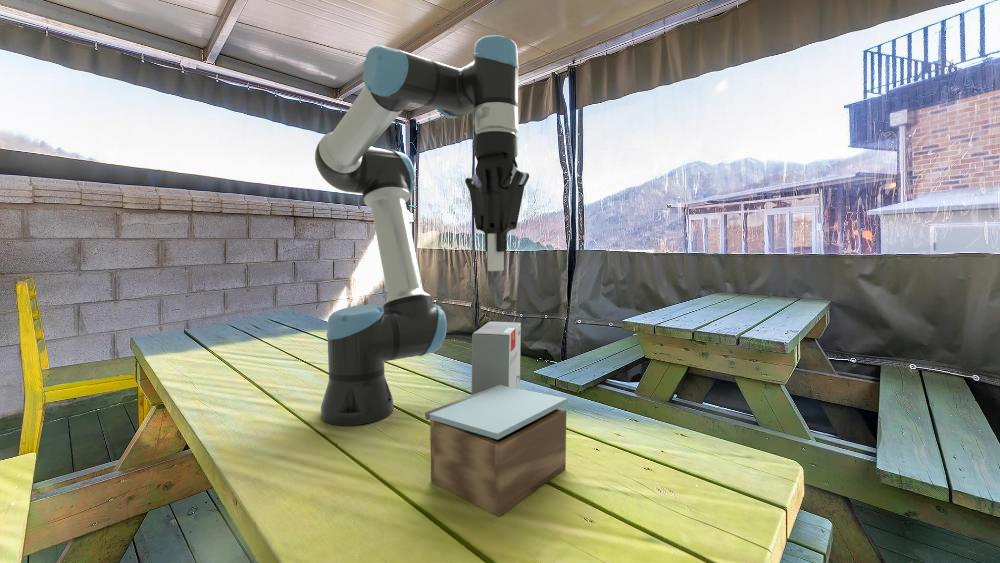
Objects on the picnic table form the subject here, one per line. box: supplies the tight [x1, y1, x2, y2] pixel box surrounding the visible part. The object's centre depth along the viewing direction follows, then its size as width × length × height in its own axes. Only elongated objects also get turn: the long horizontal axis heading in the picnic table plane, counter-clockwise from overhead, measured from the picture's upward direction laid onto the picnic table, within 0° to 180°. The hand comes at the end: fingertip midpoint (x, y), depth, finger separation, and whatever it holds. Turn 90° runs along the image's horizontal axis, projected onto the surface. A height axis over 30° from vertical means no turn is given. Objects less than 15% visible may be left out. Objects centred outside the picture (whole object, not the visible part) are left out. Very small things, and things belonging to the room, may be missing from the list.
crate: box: [429, 407, 567, 518], centre depth 70 cm, size 14×17×10 cm
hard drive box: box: [470, 321, 522, 396], centre depth 92 cm, size 16×8×20 cm, turn 168°
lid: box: [424, 384, 569, 440], centre depth 69 cm, size 15×18×1 cm
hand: (495, 270), depth 77 cm, fingers closed
